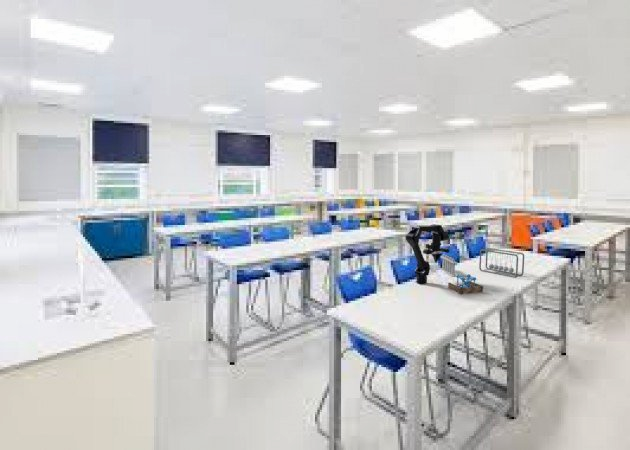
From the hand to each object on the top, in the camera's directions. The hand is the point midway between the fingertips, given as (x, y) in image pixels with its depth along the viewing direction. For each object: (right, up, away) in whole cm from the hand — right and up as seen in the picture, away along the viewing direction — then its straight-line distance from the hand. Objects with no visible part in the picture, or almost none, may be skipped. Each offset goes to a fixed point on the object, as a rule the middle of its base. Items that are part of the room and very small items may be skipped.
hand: (435, 262), depth 275 cm
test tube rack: (+17, -11, +22) cm, 30 cm away
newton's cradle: (+56, -10, +18) cm, 60 cm away
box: (+11, -16, -24) cm, 31 cm away
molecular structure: (+12, -16, -25) cm, 32 cm away
